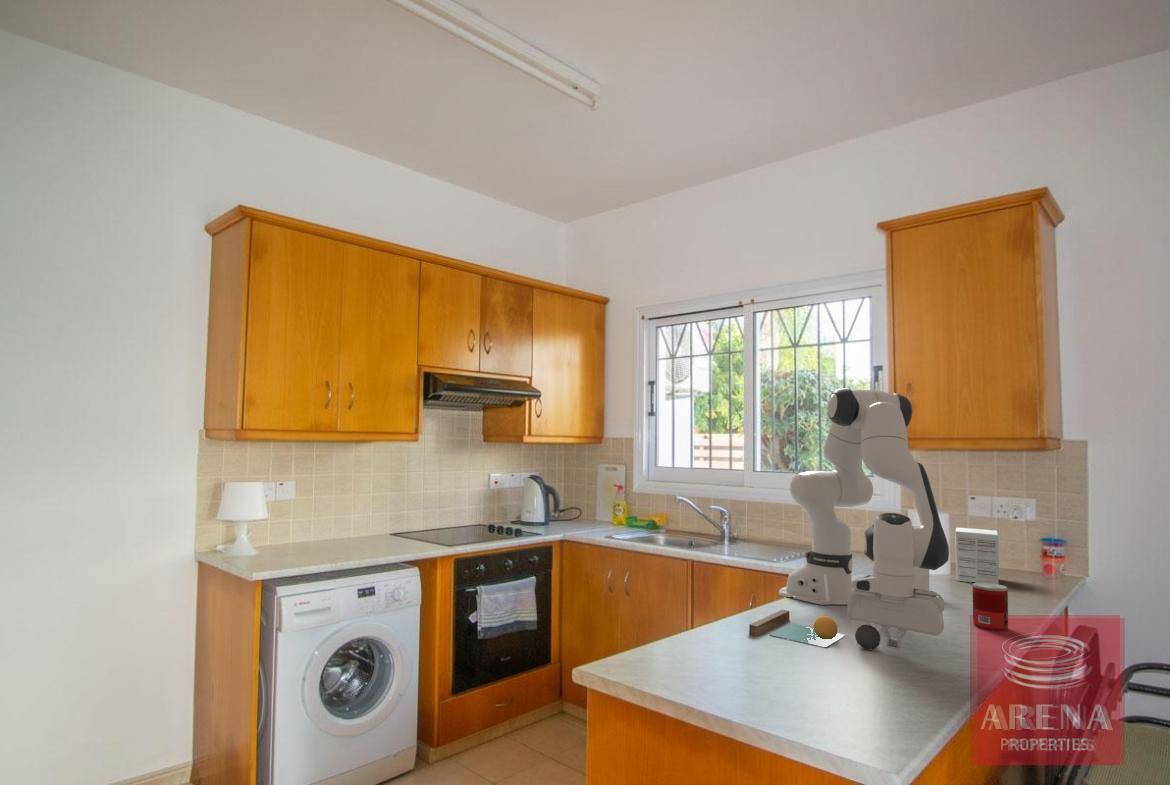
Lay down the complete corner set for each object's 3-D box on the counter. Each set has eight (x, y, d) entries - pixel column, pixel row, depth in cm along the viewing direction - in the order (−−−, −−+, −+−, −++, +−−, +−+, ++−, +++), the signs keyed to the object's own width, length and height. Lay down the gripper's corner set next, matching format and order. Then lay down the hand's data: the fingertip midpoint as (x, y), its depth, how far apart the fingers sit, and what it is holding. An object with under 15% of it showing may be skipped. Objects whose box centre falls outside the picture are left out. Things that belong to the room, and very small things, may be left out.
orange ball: (834, 642, 159) (811, 640, 162) (842, 637, 163) (820, 636, 167) (831, 618, 160) (808, 617, 163) (839, 614, 164) (817, 613, 168)
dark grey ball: (882, 641, 152) (869, 658, 154) (887, 632, 156) (874, 649, 158) (861, 624, 154) (848, 641, 156) (866, 616, 159) (853, 633, 161)
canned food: (1013, 632, 173) (1012, 589, 173) (979, 630, 174) (978, 587, 175) (1001, 624, 180) (1000, 583, 181) (968, 622, 182) (968, 581, 182)
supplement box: (956, 574, 247) (955, 526, 248) (998, 579, 241) (997, 530, 242) (955, 580, 236) (954, 530, 237) (999, 586, 229) (998, 534, 230)
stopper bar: (749, 634, 165) (749, 624, 165) (782, 618, 180) (782, 609, 181) (756, 636, 164) (756, 626, 164) (789, 620, 179) (789, 610, 179)
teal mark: (769, 635, 165) (769, 634, 165) (792, 624, 176) (792, 623, 176) (826, 648, 156) (826, 647, 156) (846, 635, 167) (846, 634, 167)
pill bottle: (927, 594, 213) (926, 547, 214) (931, 600, 206) (930, 551, 207) (899, 592, 216) (899, 545, 217) (903, 597, 208) (902, 549, 209)
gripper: (947, 590, 150) (947, 653, 149) (853, 576, 163) (853, 634, 162) (940, 595, 145) (941, 660, 144) (844, 580, 158) (844, 640, 157)
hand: (894, 646), depth 153 cm, fingers closed
